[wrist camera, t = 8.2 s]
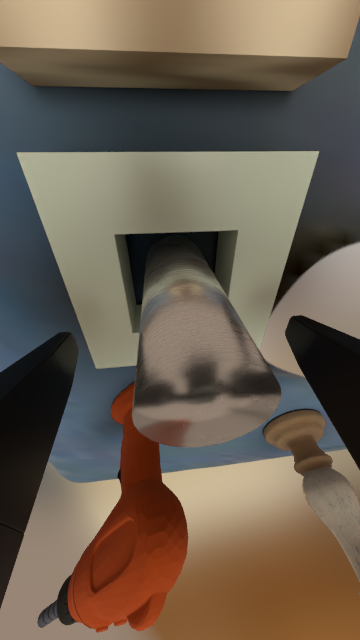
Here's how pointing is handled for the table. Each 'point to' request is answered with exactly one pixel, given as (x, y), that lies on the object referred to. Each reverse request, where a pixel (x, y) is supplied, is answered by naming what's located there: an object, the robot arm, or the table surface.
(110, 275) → the square block with hole
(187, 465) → the table surface
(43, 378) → the robot arm
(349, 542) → the candle holder
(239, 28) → the socket block
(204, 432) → the silver flared cylinder
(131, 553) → the toy drill
